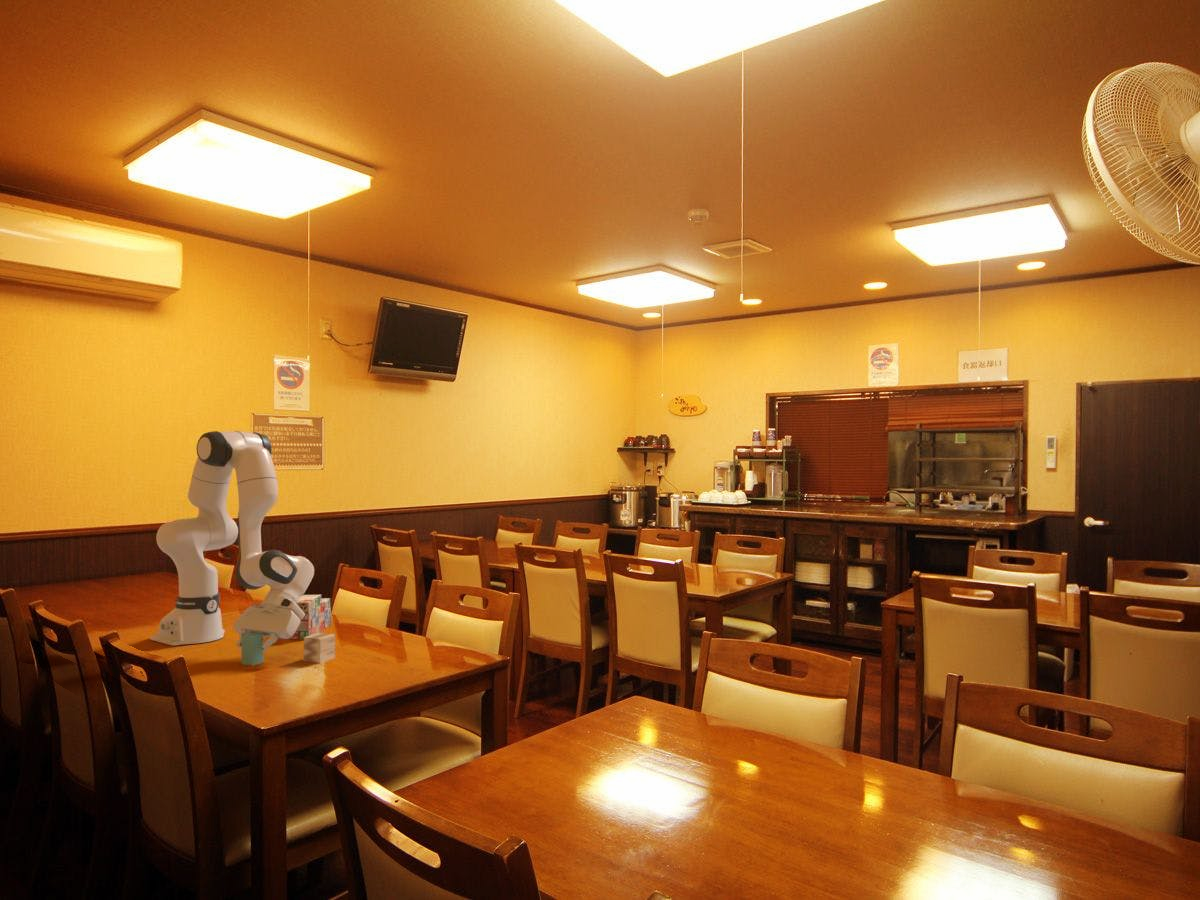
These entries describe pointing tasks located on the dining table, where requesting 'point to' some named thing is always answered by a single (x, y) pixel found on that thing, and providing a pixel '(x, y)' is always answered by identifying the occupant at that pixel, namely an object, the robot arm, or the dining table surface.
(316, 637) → the tower top
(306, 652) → the tower base
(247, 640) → the pillar
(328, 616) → the multicoloured boxy piece
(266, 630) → the robot arm
